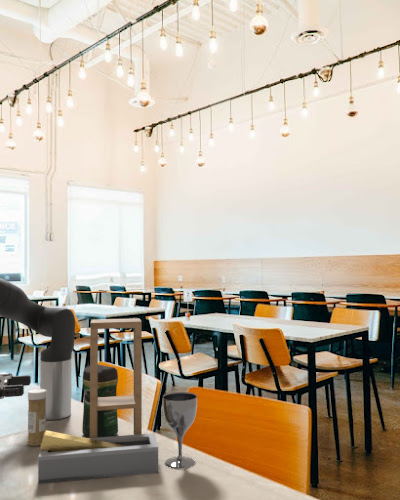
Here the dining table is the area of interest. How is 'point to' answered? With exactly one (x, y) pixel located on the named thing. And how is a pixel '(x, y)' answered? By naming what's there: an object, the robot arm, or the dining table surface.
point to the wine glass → (179, 422)
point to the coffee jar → (106, 388)
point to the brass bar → (71, 442)
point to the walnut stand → (96, 401)
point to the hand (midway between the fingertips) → (27, 384)
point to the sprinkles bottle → (36, 416)
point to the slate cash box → (101, 460)
